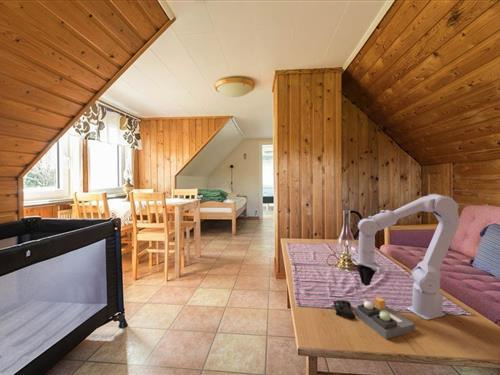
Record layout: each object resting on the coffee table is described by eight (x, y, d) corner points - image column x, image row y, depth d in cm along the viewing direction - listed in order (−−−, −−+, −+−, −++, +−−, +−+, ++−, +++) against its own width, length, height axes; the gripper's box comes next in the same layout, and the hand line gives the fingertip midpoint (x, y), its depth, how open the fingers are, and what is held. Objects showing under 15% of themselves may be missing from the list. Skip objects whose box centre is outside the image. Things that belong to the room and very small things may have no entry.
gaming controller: (357, 318, 87) (344, 305, 88) (345, 327, 88) (333, 314, 89) (351, 303, 97) (340, 292, 97) (341, 311, 98) (330, 300, 98)
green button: (384, 316, 83) (384, 310, 83) (392, 321, 80) (392, 315, 80) (377, 317, 82) (377, 312, 82) (384, 322, 79) (385, 317, 79)
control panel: (380, 308, 94) (380, 298, 94) (414, 331, 81) (415, 319, 81) (354, 314, 91) (354, 304, 90) (386, 339, 77) (386, 327, 77)
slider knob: (379, 304, 92) (379, 297, 91) (384, 308, 89) (385, 300, 89) (374, 306, 91) (374, 298, 91) (379, 309, 89) (379, 301, 88)
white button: (368, 305, 90) (368, 300, 90) (375, 309, 87) (375, 304, 87) (362, 306, 89) (362, 301, 89) (368, 311, 86) (368, 306, 86)
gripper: (345, 245, 101) (344, 277, 102) (372, 257, 87) (371, 294, 88) (359, 244, 103) (358, 275, 104) (388, 255, 89) (387, 291, 90)
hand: (365, 284), depth 96 cm, fingers closed
